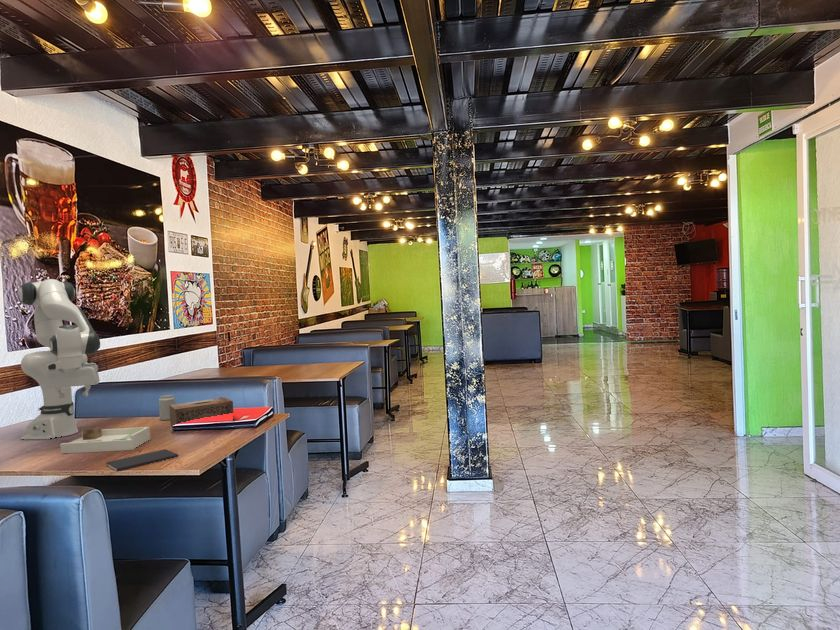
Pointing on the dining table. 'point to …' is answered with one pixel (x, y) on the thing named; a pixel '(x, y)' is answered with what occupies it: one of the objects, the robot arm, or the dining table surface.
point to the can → (165, 406)
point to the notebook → (140, 460)
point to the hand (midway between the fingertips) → (73, 397)
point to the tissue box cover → (199, 409)
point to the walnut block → (91, 433)
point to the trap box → (109, 441)
